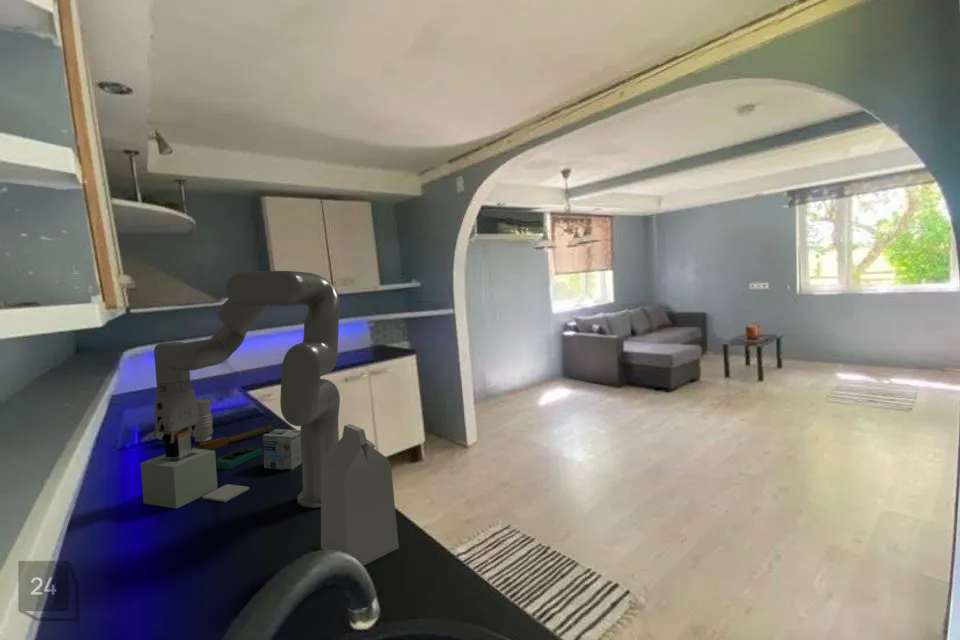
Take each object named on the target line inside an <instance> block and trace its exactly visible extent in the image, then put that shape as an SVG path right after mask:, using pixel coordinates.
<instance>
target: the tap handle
mask: <svg viewBox="0 0 960 640" xmlns="http://www.w3.org/2000/svg"><path fill="white" fill-rule="evenodd" d="M270 430H273V431H274V428H273V426H272V425H271V424H269V425H266V426H264V427H259V428H258V427H257V428H256V429H255V428H254V429H252V430H249V431H246V432H243V433H239V434H236V435H233V436H228V437H224V436H223V437H217V438H214V439H210V440H208V441H203V442H199V445H197V446H192V448H194V449H204V450H213V451H215V450H217V449H221V448H224V447H227V446H228V445H231V444H233V443H237V442H240V441H239V440H241V441H243V440H242V439H244V440H246V439H245V438H248V437H251V436H254V435H258V434H261V433H263V432H265V431H270ZM248 439H249V438H248ZM236 441H237V442H236ZM232 442H233V443H232ZM226 445H227V446H226ZM223 446H224V447H223Z"/></svg>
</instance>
